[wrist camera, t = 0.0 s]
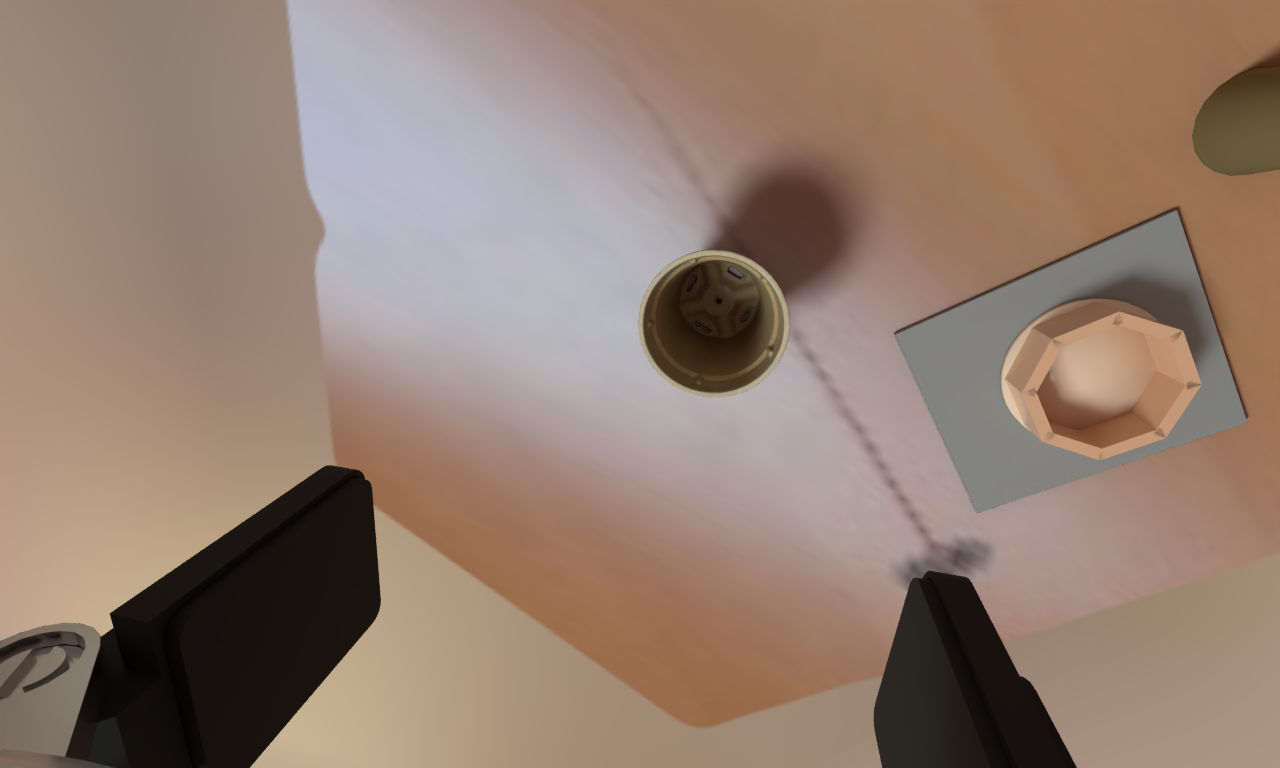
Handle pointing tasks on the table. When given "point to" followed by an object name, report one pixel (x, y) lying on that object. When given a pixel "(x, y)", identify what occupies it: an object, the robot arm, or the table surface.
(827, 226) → the table surface
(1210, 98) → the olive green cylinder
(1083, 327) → the peach octagonal bowl
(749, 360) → the flower pot
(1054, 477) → the felt mat
